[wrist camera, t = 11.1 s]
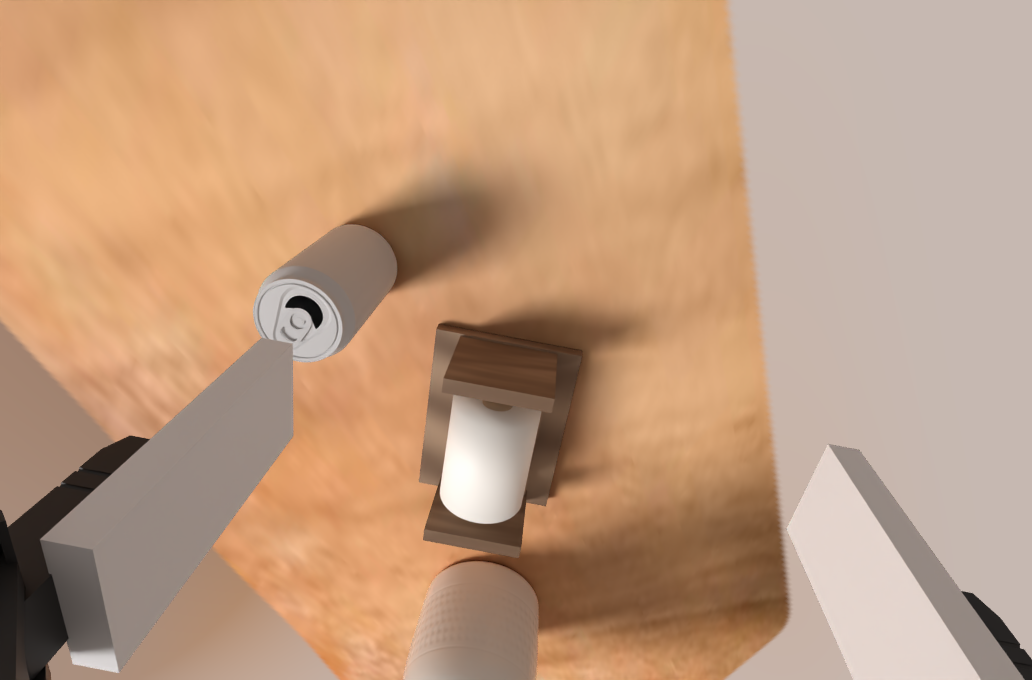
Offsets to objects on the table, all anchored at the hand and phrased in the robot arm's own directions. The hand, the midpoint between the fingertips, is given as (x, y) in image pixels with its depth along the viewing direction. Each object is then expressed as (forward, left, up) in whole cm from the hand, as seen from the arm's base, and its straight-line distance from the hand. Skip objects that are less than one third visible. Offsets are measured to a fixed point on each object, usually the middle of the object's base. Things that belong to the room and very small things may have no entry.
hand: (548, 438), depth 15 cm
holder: (+21, -2, -32) cm, 38 cm away
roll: (+21, -2, -30) cm, 37 cm away
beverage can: (+9, -15, -32) cm, 36 cm away
